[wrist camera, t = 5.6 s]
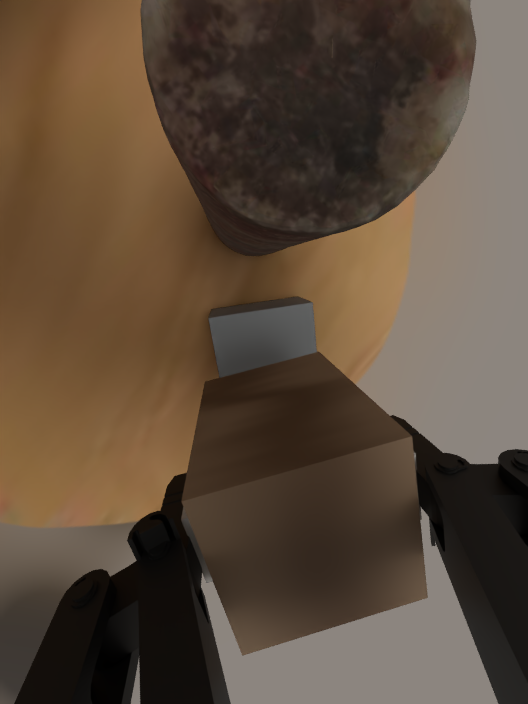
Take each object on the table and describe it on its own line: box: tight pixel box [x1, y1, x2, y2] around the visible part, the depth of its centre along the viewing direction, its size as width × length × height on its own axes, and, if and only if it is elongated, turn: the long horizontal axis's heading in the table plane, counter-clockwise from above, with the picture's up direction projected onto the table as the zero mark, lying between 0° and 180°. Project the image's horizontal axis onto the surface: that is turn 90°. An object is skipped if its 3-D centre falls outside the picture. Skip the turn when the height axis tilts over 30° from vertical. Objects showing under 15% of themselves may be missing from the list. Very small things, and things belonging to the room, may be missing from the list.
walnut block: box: [181, 352, 428, 655], centre depth 12 cm, size 6×6×8 cm
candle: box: [141, 0, 476, 256], centre depth 15 cm, size 8×7×20 cm
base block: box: [208, 296, 317, 378], centre depth 26 cm, size 8×8×5 cm
